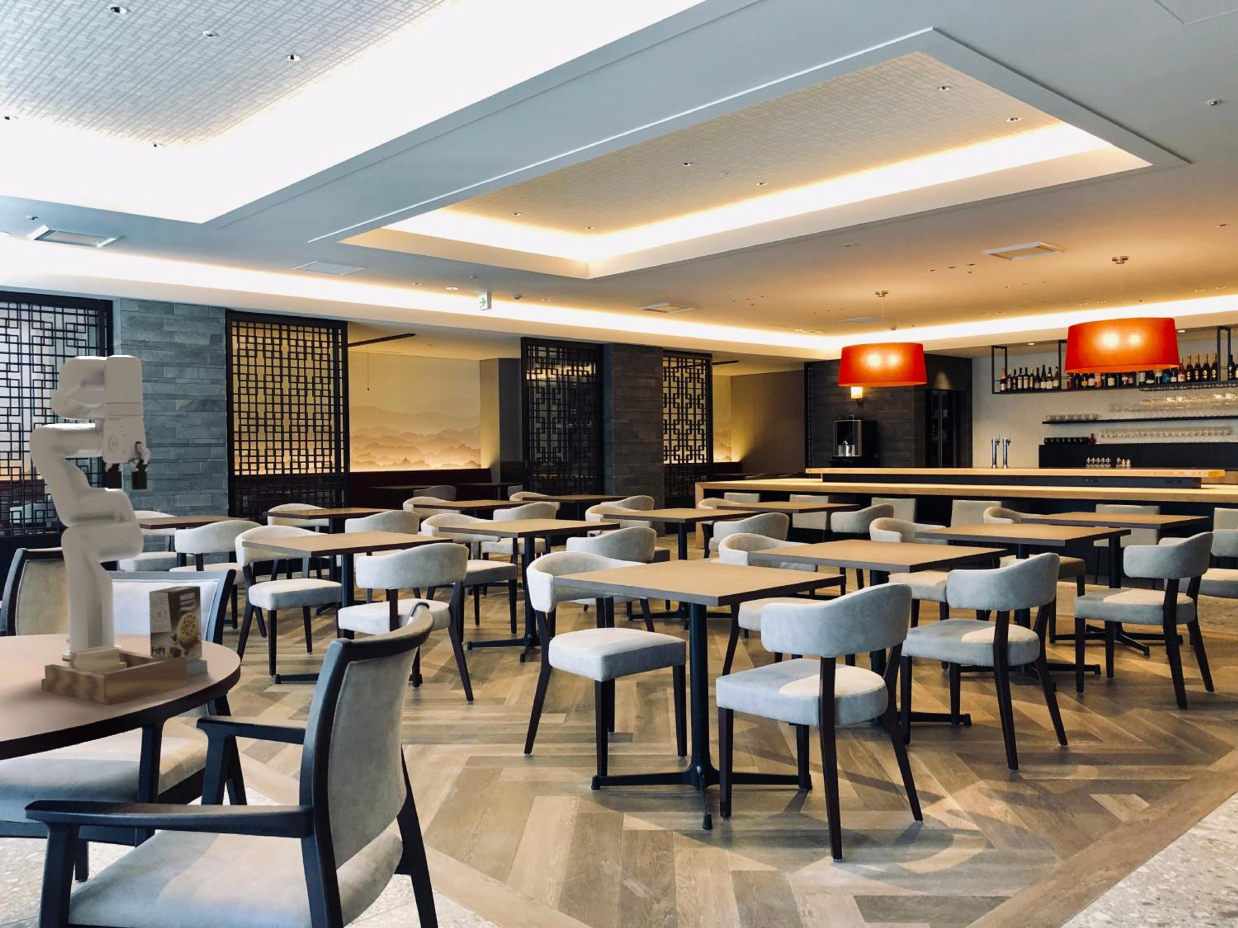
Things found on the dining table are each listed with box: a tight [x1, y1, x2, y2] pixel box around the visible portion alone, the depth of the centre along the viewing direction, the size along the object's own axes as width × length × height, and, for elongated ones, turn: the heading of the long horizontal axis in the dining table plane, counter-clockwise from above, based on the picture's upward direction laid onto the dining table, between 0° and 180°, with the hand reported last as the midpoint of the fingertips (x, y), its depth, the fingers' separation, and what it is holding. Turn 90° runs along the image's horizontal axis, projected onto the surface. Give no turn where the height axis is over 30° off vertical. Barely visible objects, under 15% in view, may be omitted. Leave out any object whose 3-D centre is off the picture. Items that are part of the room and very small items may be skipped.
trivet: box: [186, 658, 208, 677], centre depth 212 cm, size 10×8×2 cm
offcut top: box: [69, 645, 120, 671], centre depth 204 cm, size 5×8×4 cm, turn 135°
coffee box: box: [148, 585, 203, 663], centre depth 212 cm, size 9×6×16 cm
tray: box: [40, 649, 188, 706], centre depth 200 cm, size 25×16×6 cm, turn 57°
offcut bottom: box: [85, 661, 127, 675], centre depth 204 cm, size 6×10×4 cm, turn 146°
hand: (126, 489), depth 215 cm, fingers open, 9 cm apart
